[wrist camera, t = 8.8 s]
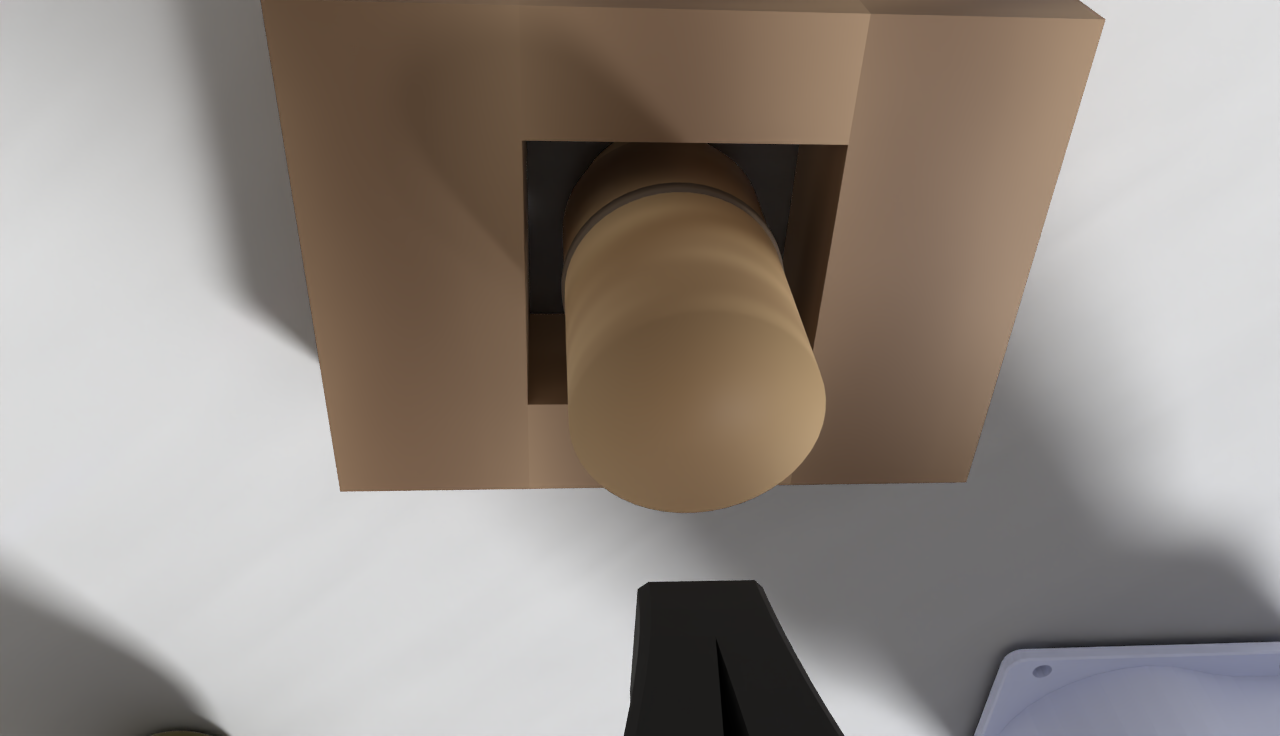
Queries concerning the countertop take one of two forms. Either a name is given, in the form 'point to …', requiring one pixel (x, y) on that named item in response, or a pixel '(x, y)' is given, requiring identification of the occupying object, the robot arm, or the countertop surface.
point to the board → (678, 113)
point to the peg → (682, 332)
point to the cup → (179, 733)
